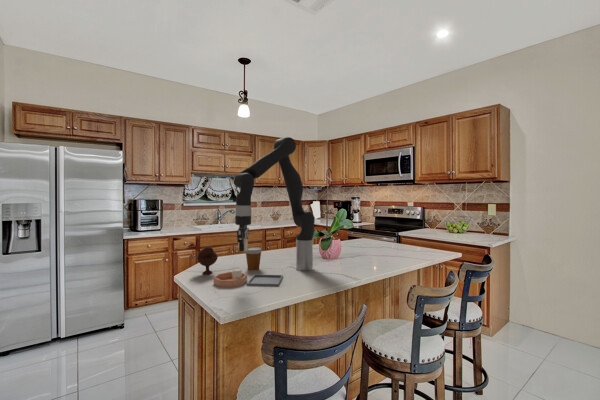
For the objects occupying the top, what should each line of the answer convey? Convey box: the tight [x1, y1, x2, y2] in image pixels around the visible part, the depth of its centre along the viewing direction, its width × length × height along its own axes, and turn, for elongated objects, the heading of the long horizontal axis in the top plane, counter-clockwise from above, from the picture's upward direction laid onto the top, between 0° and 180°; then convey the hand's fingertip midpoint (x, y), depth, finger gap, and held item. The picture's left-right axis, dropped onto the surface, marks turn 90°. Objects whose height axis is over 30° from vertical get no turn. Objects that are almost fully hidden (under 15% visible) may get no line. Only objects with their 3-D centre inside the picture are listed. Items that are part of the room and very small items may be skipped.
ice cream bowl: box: [196, 245, 219, 276], centre depth 161 cm, size 11×11×15 cm
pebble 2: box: [237, 238, 249, 253], centre depth 143 cm, size 4×4×6 cm
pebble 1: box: [231, 269, 243, 280], centre depth 144 cm, size 4×4×6 cm
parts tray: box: [245, 273, 284, 287], centre depth 146 cm, size 15×15×2 cm
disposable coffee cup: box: [244, 246, 263, 271], centre depth 169 cm, size 10×10×12 cm
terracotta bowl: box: [213, 271, 248, 288], centre depth 144 cm, size 15×15×4 cm
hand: (242, 250), depth 143 cm, fingers closed on pebble 2, 4 cm apart
